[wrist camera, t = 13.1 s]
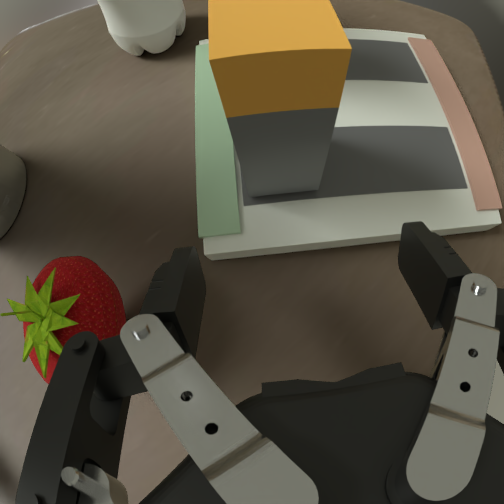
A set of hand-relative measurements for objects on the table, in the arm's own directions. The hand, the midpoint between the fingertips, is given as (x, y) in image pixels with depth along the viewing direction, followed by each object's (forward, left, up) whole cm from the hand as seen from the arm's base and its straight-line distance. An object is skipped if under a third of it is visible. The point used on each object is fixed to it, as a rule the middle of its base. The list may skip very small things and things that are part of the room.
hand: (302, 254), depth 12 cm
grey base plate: (-4, +11, -8) cm, 14 cm away
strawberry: (-7, -10, -8) cm, 15 cm away
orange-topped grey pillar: (-5, +5, -5) cm, 9 cm away
